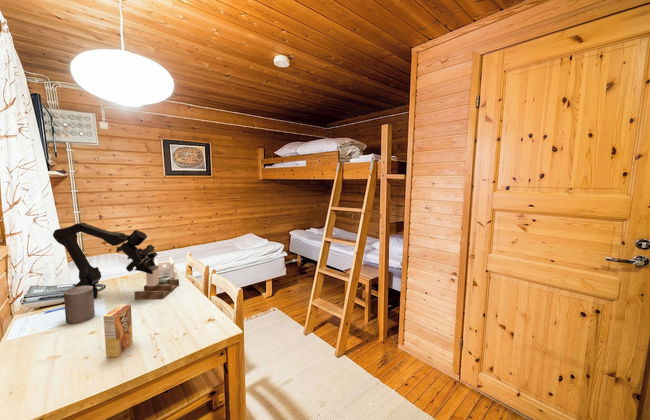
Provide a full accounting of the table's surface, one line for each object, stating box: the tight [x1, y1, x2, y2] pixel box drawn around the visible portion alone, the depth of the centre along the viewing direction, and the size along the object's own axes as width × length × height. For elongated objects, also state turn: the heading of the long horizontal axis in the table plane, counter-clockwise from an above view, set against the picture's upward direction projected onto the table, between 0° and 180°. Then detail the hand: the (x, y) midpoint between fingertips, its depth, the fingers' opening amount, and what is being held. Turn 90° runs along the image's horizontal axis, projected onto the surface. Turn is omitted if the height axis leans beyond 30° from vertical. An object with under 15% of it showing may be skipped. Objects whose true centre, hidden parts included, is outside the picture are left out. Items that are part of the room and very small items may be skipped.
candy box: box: [103, 304, 134, 358], centre depth 98 cm, size 9×4×15 cm, turn 6°
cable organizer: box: [154, 256, 175, 279], centre depth 172 cm, size 15×11×12 cm
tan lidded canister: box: [145, 266, 160, 286], centre depth 143 cm, size 4×4×10 cm
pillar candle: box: [63, 286, 96, 325], centre depth 119 cm, size 10×10×15 cm
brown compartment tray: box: [134, 278, 180, 300], centre depth 149 cm, size 14×18×5 cm
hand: (154, 271), depth 143 cm, fingers closed on tan lidded canister, 4 cm apart
